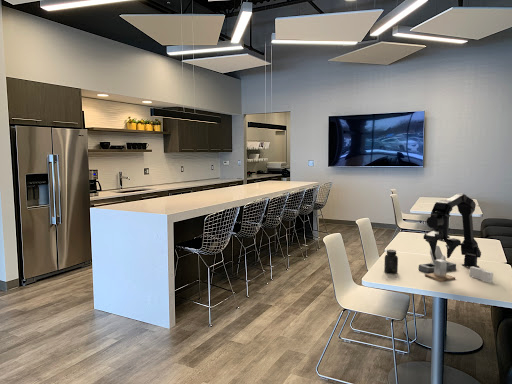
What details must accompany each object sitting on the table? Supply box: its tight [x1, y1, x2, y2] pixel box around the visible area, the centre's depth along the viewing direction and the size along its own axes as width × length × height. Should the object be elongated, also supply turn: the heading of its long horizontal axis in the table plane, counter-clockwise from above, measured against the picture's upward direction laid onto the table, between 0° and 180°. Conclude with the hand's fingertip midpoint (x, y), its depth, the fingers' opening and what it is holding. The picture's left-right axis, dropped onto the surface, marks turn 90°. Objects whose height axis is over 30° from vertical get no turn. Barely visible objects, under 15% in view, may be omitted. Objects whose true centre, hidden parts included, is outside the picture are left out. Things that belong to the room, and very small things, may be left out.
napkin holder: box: [469, 266, 494, 283], centre depth 194 cm, size 15×11×6 cm
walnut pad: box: [424, 273, 456, 283], centre depth 197 cm, size 10×10×1 cm
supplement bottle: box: [383, 249, 399, 275], centre depth 206 cm, size 7×7×12 cm
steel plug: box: [434, 259, 448, 277], centre depth 196 cm, size 4×4×8 cm
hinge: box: [429, 245, 447, 263], centre depth 229 cm, size 17×5×10 cm, turn 148°
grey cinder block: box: [418, 261, 457, 274], centre depth 211 cm, size 20×7×3 cm, turn 112°
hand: (440, 255), depth 196 cm, fingers open, 9 cm apart
